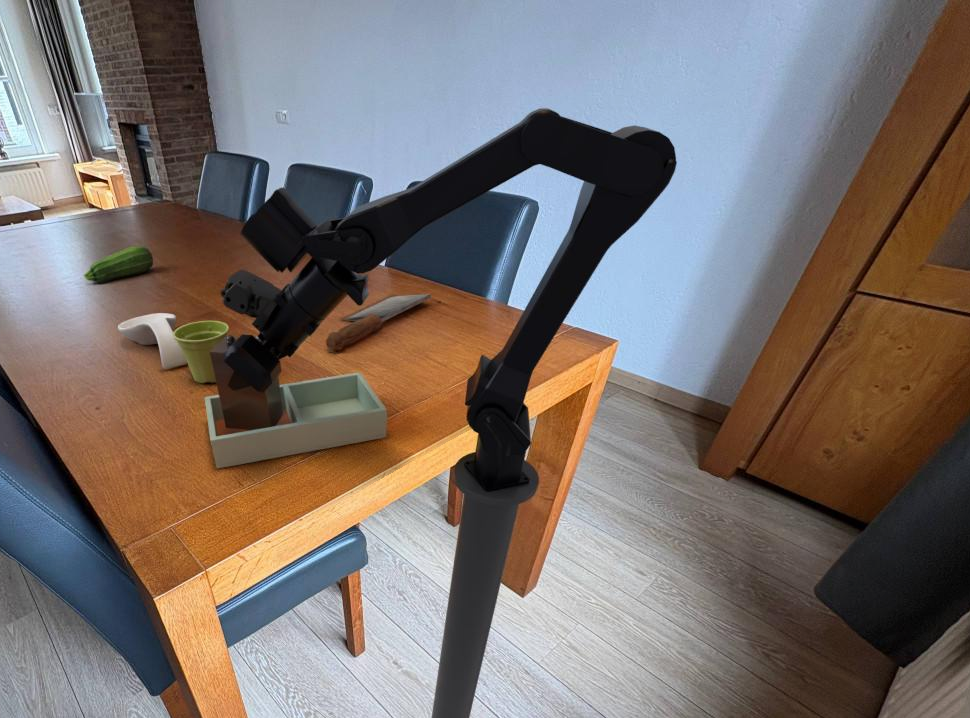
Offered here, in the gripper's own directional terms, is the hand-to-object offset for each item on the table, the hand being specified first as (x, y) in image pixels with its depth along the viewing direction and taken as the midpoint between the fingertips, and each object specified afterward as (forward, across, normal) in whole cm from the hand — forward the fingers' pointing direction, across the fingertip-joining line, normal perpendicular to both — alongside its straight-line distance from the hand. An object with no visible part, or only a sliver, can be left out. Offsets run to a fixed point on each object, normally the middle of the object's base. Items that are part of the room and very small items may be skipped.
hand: (238, 378), depth 70 cm
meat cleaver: (+1, -48, +13) cm, 49 cm away
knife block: (+4, 0, +6) cm, 7 cm away
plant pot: (+17, -18, -4) cm, 25 cm away
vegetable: (+55, -73, -43) cm, 101 cm away
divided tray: (+2, -3, +11) cm, 12 cm away
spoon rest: (+28, -28, -15) cm, 43 cm away
